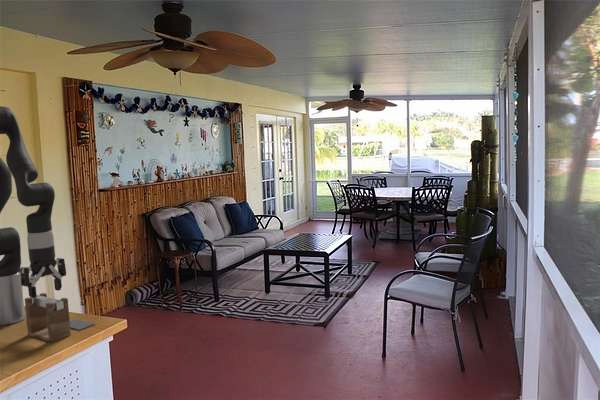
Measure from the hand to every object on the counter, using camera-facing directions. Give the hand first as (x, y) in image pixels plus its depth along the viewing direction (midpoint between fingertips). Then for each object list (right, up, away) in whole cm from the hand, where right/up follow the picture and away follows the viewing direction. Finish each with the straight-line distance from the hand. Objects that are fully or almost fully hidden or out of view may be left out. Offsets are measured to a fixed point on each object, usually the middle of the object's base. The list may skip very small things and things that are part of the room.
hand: (46, 293), depth 164 cm
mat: (+6, -13, +10) cm, 17 cm away
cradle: (0, -14, +2) cm, 14 cm away
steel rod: (0, -4, +1) cm, 4 cm away
